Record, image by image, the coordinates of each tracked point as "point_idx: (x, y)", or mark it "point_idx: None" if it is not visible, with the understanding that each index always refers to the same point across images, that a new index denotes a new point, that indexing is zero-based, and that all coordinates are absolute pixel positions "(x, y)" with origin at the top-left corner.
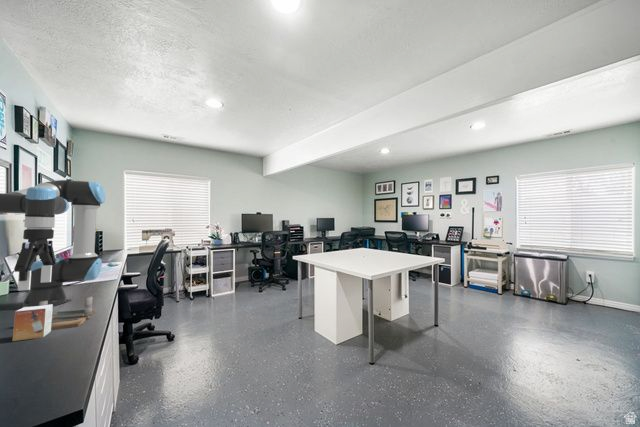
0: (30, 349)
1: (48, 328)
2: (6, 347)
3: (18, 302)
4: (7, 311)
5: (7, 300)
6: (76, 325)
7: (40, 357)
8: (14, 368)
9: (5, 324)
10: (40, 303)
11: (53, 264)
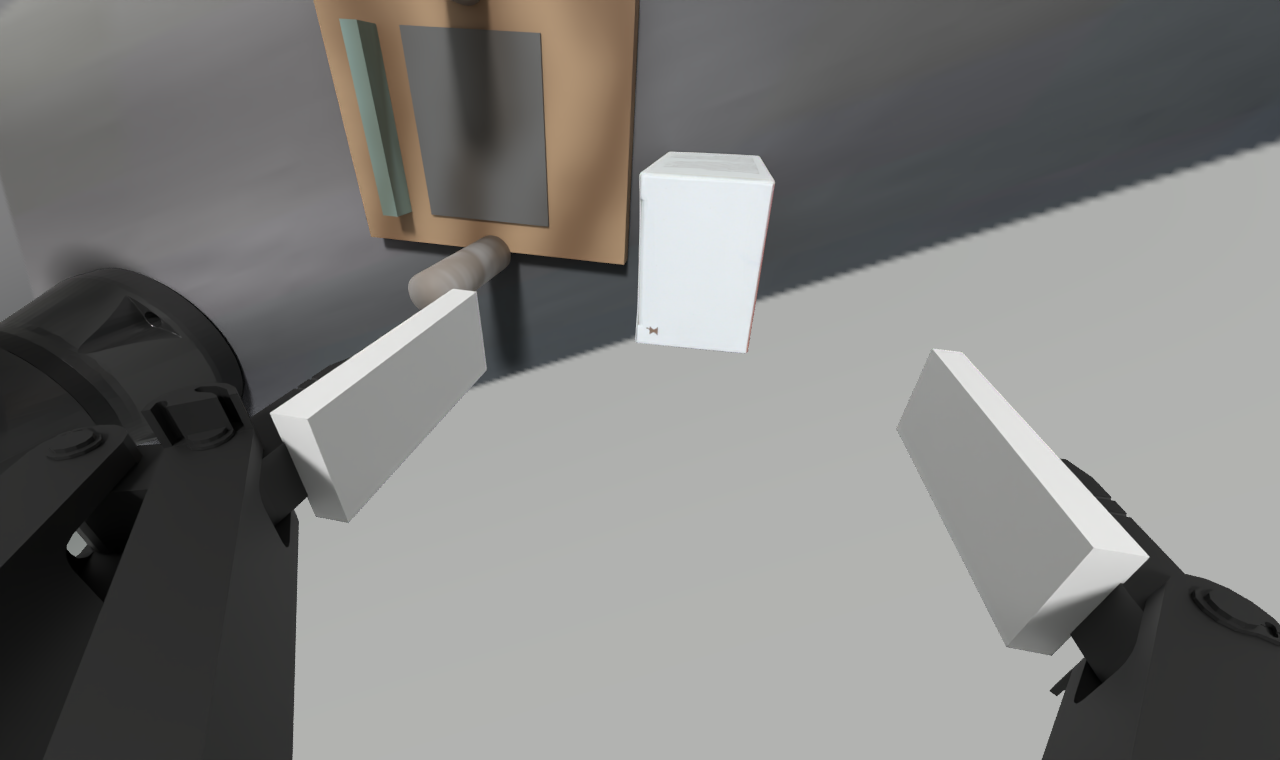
0: (956, 149)
1: (705, 155)
2: (820, 279)
3: None
4: None
5: None
6: (636, 5)
7: (1196, 24)
8: (1265, 114)
9: None
10: None
11: (241, 403)
